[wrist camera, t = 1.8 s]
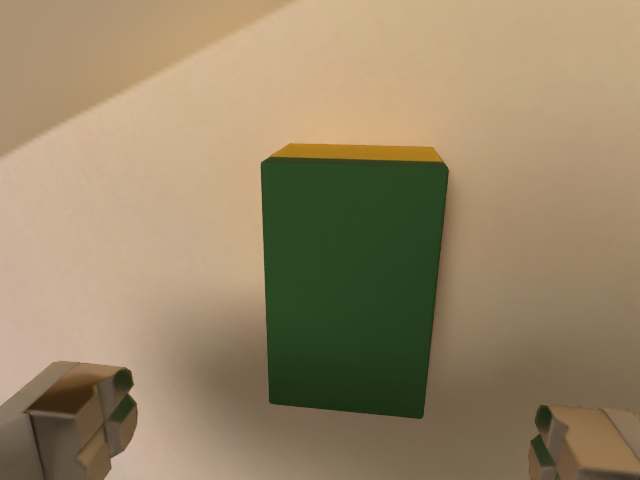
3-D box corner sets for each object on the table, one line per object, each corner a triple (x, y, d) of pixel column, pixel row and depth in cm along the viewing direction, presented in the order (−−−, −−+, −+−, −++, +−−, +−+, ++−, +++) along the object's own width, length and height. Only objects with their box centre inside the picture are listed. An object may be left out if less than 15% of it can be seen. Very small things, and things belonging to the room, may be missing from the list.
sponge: (288, 143, 16) (259, 161, 12) (433, 147, 15) (449, 167, 12) (291, 339, 19) (268, 404, 15) (415, 349, 18) (423, 420, 14)
